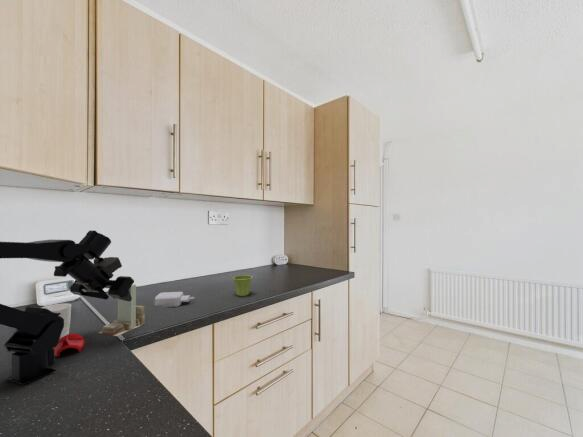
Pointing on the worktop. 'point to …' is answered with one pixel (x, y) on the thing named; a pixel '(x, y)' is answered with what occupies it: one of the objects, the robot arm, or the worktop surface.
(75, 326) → the worktop surface
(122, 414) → the worktop surface
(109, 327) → the offcut top
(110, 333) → the offcut bottom
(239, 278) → the plant pot
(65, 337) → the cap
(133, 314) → the grey-green flat block
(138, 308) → the offcut rack
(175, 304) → the white dispenser bottle
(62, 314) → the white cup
